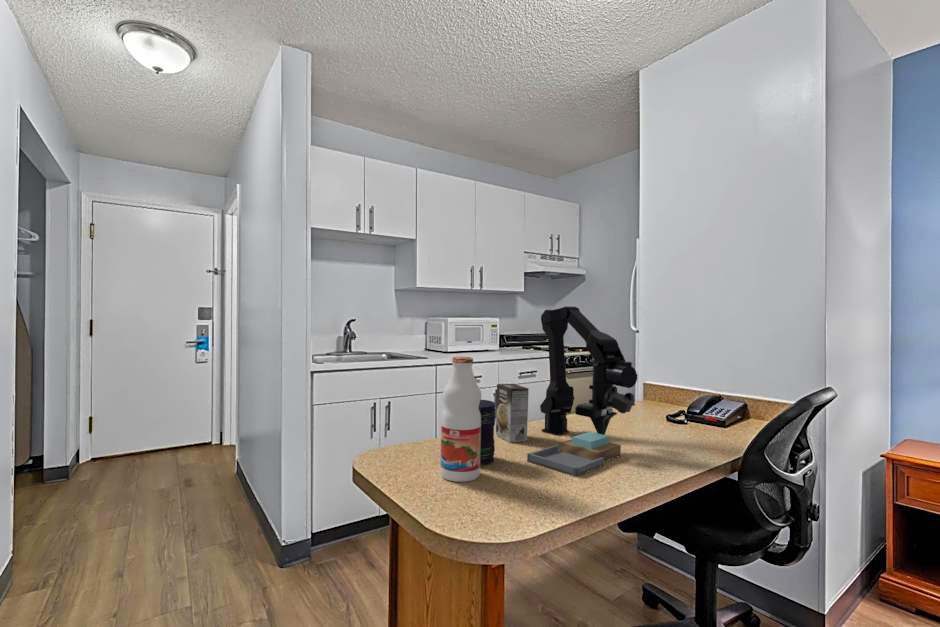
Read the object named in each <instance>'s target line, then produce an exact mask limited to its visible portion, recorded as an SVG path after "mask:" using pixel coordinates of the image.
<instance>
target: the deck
mask: <svg viewBox="0 0 940 627" xmlns="http://www.w3.org/2000/svg"><path fill="white" fill-rule="evenodd" d="M621 447H622V446H621V444H618V443H615V442H610V441H609V443H608V444H605V445H602V446H599V447H597V448H594V449H588V448H584V447H580V446H576V445H572V438H571V439H568V440H564V441H561V442H560V450H559V451H561V452H565V453H568V454H572V455H576V456H579V457H583V458H586V459H590V460H595V459H598V458H601V457H602V458H604V461H606V462H608V461H607V460H609V459H611V460H613V459H612V458H614V459H615V457H616V458H618V457H617V456H619V457H621V454H622V453H621V449H622V448H621ZM609 461H610V460H609Z"/></svg>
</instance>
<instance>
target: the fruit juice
mask: <svg viewBox="0 0 940 627" xmlns="http://www.w3.org/2000/svg"><path fill="white" fill-rule="evenodd" d="M451 362H452V366H453V367H452V371H451V373H450V376H449V379H448V382H447V383H446V385H445V386H444V389H443V391H442V402H443V404H444V407H443V410H442V412H441V422H440V423H441V424H440V425H441V426H440V429H441V431H440V432H441V433H440V469H439V470H440V475H441V477H442V479H445V480H447V481H449V482H450V481H451V482H455V483H456V482H457V483H467V482H472V481H475V480H476V479H478V478H479V477H480V473H481V466H480V451H481V413H480V411H479V404H480V401H481V400H482V391H481V389H480V387H479V385H478V383H477V381H476V379H475V378H476V377H475V375H474V372H473V368H472V367H473V363H474V358H473V357H471V356H454V357H452V359H451Z"/></svg>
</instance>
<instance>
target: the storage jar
mask: <svg viewBox="0 0 940 627" xmlns="http://www.w3.org/2000/svg"><path fill="white" fill-rule="evenodd" d="M495 407H496V402H494V401H492V400H488V399H481V401H480V404H479V411H480V413H481V451H480V465H485V466H489V465H491V463H492V464H493V463H494V462H495V457H494V456H495V451H496V450H495V449H496V447H495V438H494V437H495V426H496V408H495ZM488 464H489V465H488Z"/></svg>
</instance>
